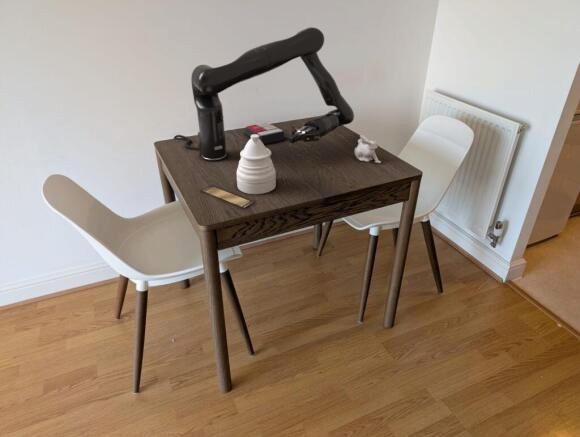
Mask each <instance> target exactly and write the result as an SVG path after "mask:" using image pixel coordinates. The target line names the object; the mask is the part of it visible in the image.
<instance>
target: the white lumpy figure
mask: <svg viewBox="0 0 580 437" xmlns="http://www.w3.org/2000/svg"><path fill="white" fill-rule="evenodd" d="M357 143H358V144H357V145H356V147H355V148H354V156H355V158H356V159H357V160H359V161H362V162H363V161H364V162H370V161H373V160H374V163H376V164H377V163H378V164H381V163H382V161H381V160H379V158H378V155H377V154H376V150H377V149H378V146H379V145H378V143H377V142H376V141H375V140H370V139H368V138H367V137H366V136H365V135H364V134H360V135H359V139H357Z"/></svg>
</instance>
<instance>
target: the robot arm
mask: <svg viewBox="0 0 580 437" xmlns="http://www.w3.org/2000/svg"><path fill="white" fill-rule="evenodd" d="M324 44H325V35H324V33H323V32H322V31H321V30H320V29H319V28H317V27H313V26H310V27H306V28H304V29H302V30H300V31H298V32H297V33H296V34H294V35H293V36H290V37H287V38H284V39H280V40H275V41H272V42H268V43H264V44H261V45H259V46H256V47H253V48H251V49H249V50H247V51H245V52H243V53H242V54H241V55H240V56H238V57H237V58H236V59H235V60H233V61H231V62H230V63H226V64H223V65H220V66H216V67H212V66H211V65H207V64H200V65H197V66H196V67H195V68H194V69H193V70H192V72H191V76H190V77H191V78H190V80H191V82H190V83H191V89H192V97H193V102H194V106H195V108H196V115H197V124H198V131H197V138H198V144H197V147H195V146H191V145H189V144H190V143H191V139H190V138H189V137H188V136H185V135H182V134H176V135H175V136H174V137H173V139H174V140H175V139H177V138H182V139H184V140H186V142H185V143H184V147H185V148H187V149H189V150H195V151H199V154H200V157H201V158H202V159H203V160H205V161H211V162H215V161H221V160H224V159H225V158H227V157H228V153H227V144H226V132H225V119H224V108H223V104H222V102H221V99H220V95H219V94H220V93H222V92H224V91H225V90H228V89H229V88H231V87H234V86H235V85H237V84H240V83H242V82H246V81H248V80H251V79H254V78H256V77H258V76H261V75H264V74H267V73H269V72H271V71H274V70H276V69H278V68H280V67H282V66H283V65H285V64H287V63H289V62H291V61H293V60H294V59H298V58H300V59H301V61H302V62H303V64H304V65H305V67H306V68H307V70H308V72H309V74H310V75H311V77H312V79H313V80H314V82H315V84H316V86H317V88H318V90H319V92H320V95H321V97H322V99H323V101H324V104H325V105H326V106H327V107H335V109H332V110H330V111H328V112H327V113H325V114H322V115H319V116H317V117H314V118H311V119H310V120H307V121H306V122H304V124H303V126H300V127H298V128H296V127H295V126H291V135H289V137H288V138H289V139H288V143H289V144H296V143H298V142H303V143H307V142H318V141H320V139H321V138H322V137H325V136H326V135H328V134H329V133H331V132H333V131H335V130H336V129H337V128H338V127H342V126H346V125H350V124H351V123H353V121H354V119H355V113H354V110H353V108H352V107H351V105H350V104H349V103H348V102H347V101H346V99H345V98H344V96H343V95H342V93H341V91H340V88H339V87H338V84H337V82H336V80H335V78H334V77H333V76H332V74H331V73H330V72H329V71H328V70H327V68H326V67H325V66H324V64H323V62H322V61H321V59H320V57H319V54H318V52H320V51H321V49H322V48H323V47H324Z"/></svg>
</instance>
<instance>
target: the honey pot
mask: <svg viewBox="0 0 580 437" xmlns="http://www.w3.org/2000/svg"><path fill="white" fill-rule="evenodd" d="M239 155H240V160H239V161H238V166H237V168H236V186H237V189H238V190H239V191H241V193H245V194H250V195H261V194H266V193H270V192H271V191H273V190H274V189H276V185H277V180H276V179H277V178H276V176H277V175H276V168H275V167H274V163H273V160H272V159H271V156H272V151H271V149H269V148H268V147H266V146H265V144H263V143H262V142H261V140H260V139H259V135H257V134H254V135H251V137H250V139H248V141H247V142H246V144H245V146H244V148H243V149H242V150H241V151H240V153H239Z"/></svg>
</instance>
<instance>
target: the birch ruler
mask: <svg viewBox="0 0 580 437" xmlns="http://www.w3.org/2000/svg"><path fill="white" fill-rule="evenodd" d="M203 192H204V193H207V194H209V195H211V196H214V197H216V198H219V199H221V200H224V201H226V202H228V203H231V204H233V205H235V206H238V207H240V208H242V209H245V208H247V207H249V206H250V205H252V204H253V203H254V202H253V201H251V200H249V199H247V198H243V197H241V196H238V195H236V194H233V193H230V192H228V191H225V190H224V189H220V188H218V187H216V186H213V185H212V186H210V187H208V188H206V189H204V190H203Z"/></svg>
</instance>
